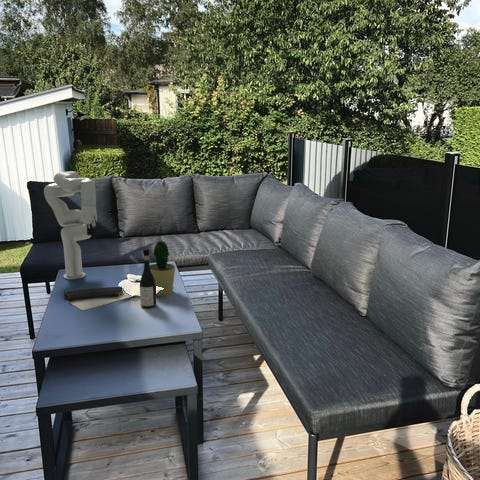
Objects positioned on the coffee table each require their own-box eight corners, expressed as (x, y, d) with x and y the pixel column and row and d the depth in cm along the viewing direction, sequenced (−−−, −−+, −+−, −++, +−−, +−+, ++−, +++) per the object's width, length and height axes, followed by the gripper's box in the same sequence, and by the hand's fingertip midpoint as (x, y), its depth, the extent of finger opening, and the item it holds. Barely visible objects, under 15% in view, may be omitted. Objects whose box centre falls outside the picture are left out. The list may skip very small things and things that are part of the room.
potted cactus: (145, 289, 271) (143, 237, 264) (172, 286, 277) (171, 235, 270) (150, 298, 257) (148, 244, 250) (178, 295, 263) (177, 242, 256)
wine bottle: (152, 309, 243) (150, 252, 236) (138, 308, 244) (135, 251, 237) (158, 303, 250) (156, 248, 243) (144, 302, 252) (141, 247, 245)
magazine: (58, 302, 250) (116, 302, 251) (58, 296, 249) (116, 296, 250) (69, 291, 266) (123, 291, 267) (69, 285, 266) (123, 285, 266)
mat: (66, 301, 253) (66, 300, 253) (121, 287, 275) (121, 286, 275) (82, 310, 240) (82, 310, 240) (139, 295, 263) (139, 294, 263)
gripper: (76, 201, 266) (77, 233, 271) (88, 205, 256) (90, 238, 261) (88, 199, 271) (90, 231, 276) (101, 203, 261) (103, 236, 266)
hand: (90, 234), depth 268 cm, fingers closed
